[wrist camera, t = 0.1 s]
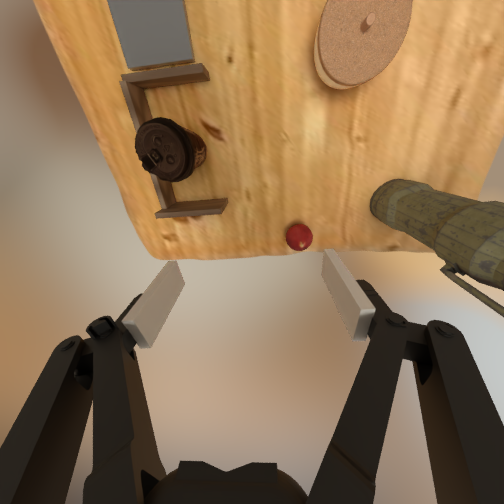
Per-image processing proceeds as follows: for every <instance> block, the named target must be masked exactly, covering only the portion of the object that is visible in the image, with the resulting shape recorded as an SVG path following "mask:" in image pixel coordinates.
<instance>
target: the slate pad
mask: <svg viewBox="0 0 504 504" xmlns="http://www.w3.org/2000/svg"><path fill="white" fill-rule="evenodd" d="M107 2H108V5H109V8H110V11H111V15H112V18H113V21H114V24H115V27H116V31H117V34H118V37H119V40H120V44H121V47H122V50H123V53H124V57H125V60H126V63H127V66H128V68H129V69H130V70H132V71H135V70H141V69H148V68H155V67H162V66H169V65H176V64H183V63H190V62H195V59H194V53H193V47H192V42H191V36H190V30H189V24H188V19H187V13H186V7H185V1H184V0H107Z"/></svg>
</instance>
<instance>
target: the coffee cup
mask: <svg viewBox="0 0 504 504" xmlns="http://www.w3.org/2000/svg"><path fill="white" fill-rule="evenodd" d="M135 149H136V153H137V154H138V157H139V160H141V161H142V166H143V168H144V170H146V171H148V172H149V173H152V174H154V175H156V176H158V178H159V179H160V180H163V181H169V182H179V181H182V180H184V179H186V178H188V177H189V176H190V175H191V174H192V173H193V171H194V169H195V168H197V167H199V166H201V165H202V164H203V162H204V160H205V159H206V155H207V149H206V145H205V143H204V141H203V140H202V139H201V137H199V136H198V135H197V134H196V133H194V132H192V131H190V130H188V129H186V128H184V127H181V126H180V125H178V124H177V123H175V122H174V121H172V120H171V119H166V118H162V117H159V118H154V119H151V120H148V121H146V122H144V123H143V124H142V125H141V126H140V127H139V129H138V131H137V134H136V138H135Z"/></svg>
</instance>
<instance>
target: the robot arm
mask: <svg viewBox="0 0 504 504" xmlns="http://www.w3.org/2000/svg"><path fill="white" fill-rule="evenodd" d="M322 277H323V279H324V282H325V284H326V286H327V288H328V290H329V292H330V294H331V296H332V298H333V301H334V303H335V305H336V307H337V309H338V311H339V313H340V315H341V318H342V320H343V322H344V324H345V326H346V328H347V330H348V332H349V334H350V336H351V339H352V341H366V338H367V335H368V336H369V338H370V343H369V345H368V348H367V350H366V353H365V355H364V358H363V360H362V363H361V365H360V368H359V371H358V373H357V376H356V378H355V381H354V384H353V386H352V388H351V391H350V393H349V396H348V398H347V401H346V404H345V406H344V409H343V411H342V414H341V416H340V419H339V421H338V424H337V427H336V429H335V432H334V434H333V437H332V439H331V441H330V444H329V446H328V448H327V451H326V453H325V456H324V458H323V461H322V463H321V466H320V468H319V471H318V473H317V476H316V478H315V481H314V483H313V486H312V488H311V491H310V494H309V496H307V495H306V493H305V492H304V490H303V489H302V488H301V486H300V485H299V484H298V483H297V482H296V481H295V480H294V479H293V478H292V477H290V476H289V475H287V474H286V473H285V472H283V471H281V470H278V469H277V463H254V462H252V463H249V464H247V465H244V466H241V467H239V468H236V469H233V470H231V471H228V472H225V471H222V470H220V469H218V468H216V467H214V466H212V465H210V464H207V463H205V462H203V461H180V463H179V467H178V469H176V470H174V471H172V472H170V473H169V474H168V475H166V472H165V469H164V467H163V465H162V463H161V460H160V458H159V454H158V450H157V445H156V441H155V436H154V432H153V428H152V423H151V419H150V414H149V410H148V405H147V401H146V396H145V392H144V388H143V383H142V379H141V374H140V370H139V365H138V361H137V356H136V352H135V350H134V349H133V348H134V346H135V345H136V343H137V344H138V346H139V347H140V348H151V347H152V345H153V343H154V341H155V339H156V338H157V336H158V334H159V332H160V330H161V328H162V326H163V324H164V323H165V321H166V319H167V317H168V315H169V313H170V311H171V309H172V307H173V306H174V304H175V302H176V300H177V298H178V296H179V295H180V292H181V291H182V289H183V287H184V285H185V282H184V280H183V277H182V275H181V272H180V269H179V267H178V264H177V261H168V262H167V264H166V265H165V266H164V267H163V269H162V270H161V271H160V273H159V274H158V275H157V276H156V278H155V279H154V280H153V281H152V283H151V284H150V285H149V287H148V288H147V289H146V291H145V292H144V293H143V294H139V295H138V296H137V297H136V298H134V299H133V301H132V302H131V303H130V305H128V307H127V308H126V309H125V310H124V312H123V313H122V314H121V315H120V316H119V318H118V319H117V320H116V321H115V322H114V321H113V319H112V318H111V317H110V316H103V317H100V318H98V319H96V320H94V321H93V322H92V323H91V324H89V326H88V327H87V329H86V332H87V333H88V334H89V335H90V337H91V338H88V339H85V340H83V339H82V338H81V337H80V336H77V335H76V336H72V337H69V338H68V339H65V340H64V341H62V342H61V343H60V344H59V345H58V346H57V347H56V348H55V349H54V351H53V352H52V354H51V356H50V358H49V360H48V362H47V363H46V365H45V367H44V369H43V371H42V373H41V374H40V376H39V378H38V380H37V382H36V384H35V386H34V387H33V389H32V391H31V393H30V395H29V397H28V398H27V400H26V402H25V404H24V406H23V408H22V409H21V412H20V413H19V415H18V417H17V419H16V420H15V422H14V424H13V426H12V428H11V430H10V431H9V433H8V435H7V437H6V439H5V441H4V443H3V444H2V446H1V448H0V504H65V501H66V497H67V493H68V489H69V486H70V482H71V478H72V475H73V471H74V467H75V463H76V460H77V456H78V453H79V449H80V445H81V442H82V438H83V434H84V430H85V427H86V423H87V419H88V416H89V412H90V408H91V405H92V401H93V470H92V473H91V474H90V475H89V476H88V477H87V478H86V480H85V483H84V489H83V504H373V501H374V495H375V487H376V486H375V478H376V473H377V469H378V464H379V459H380V455H381V451H382V447H383V442H384V438H385V433H386V429H387V424H388V420H389V416H390V412H391V407H392V403H393V398H394V394H395V390H396V385H397V381H398V376H399V372H400V367H401V363H402V359H407V360H410V361H412V362H413V367H414V373H415V378H416V384H417V390H418V396H419V401H420V407H421V413H422V419H423V424H424V430H425V436H426V441H427V447H428V453H429V458H430V464H431V470H432V475H433V481H434V487H435V493H436V498H437V503H438V504H504V426H503V423H502V421H501V419H500V416H499V414H498V412H497V410H496V407H495V405H494V403H493V401H492V398H491V396H490V394H489V392H488V389H487V387H486V385H485V383H484V381H483V378H482V376H481V374H480V371H479V369H478V367H477V365H476V363H475V360H474V359H473V356H472V354H471V351H470V349H469V347H468V345H467V342H466V340H465V338H464V336H463V334H462V333H461V331H459V330H458V329H457V328H455V327H454V326H453V325H451V324H449V323H446V322H443V321H439V320H433V321H430V322H428V324H427V325H421V324H416V323H411V322H408V321H407V320H406V319H405V318H404V317H403V316H401V315H399V314H397V313H394V312H392V311H391V310H390V308H389V307H388V306H387V304H386V303H385V302H384V301H383V299H382V298H381V297H380V296H379V295H378V293H377V292H376V291H375V289H374V288H373V287H372V285H371V284H369V283H368V282H366V281H365V280H355V279H354V277H353V276H352V275H351V273H350V272H349V270H348V269H347V268H346V266H345V265H344V263H343V262H342V260H341V259H340V258H339V256H338V255H337V253H336V252H335V250H334V249H324V256H323V265H322Z"/></svg>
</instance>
